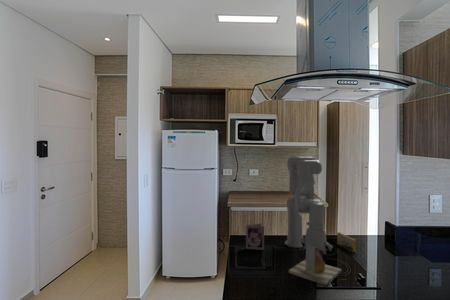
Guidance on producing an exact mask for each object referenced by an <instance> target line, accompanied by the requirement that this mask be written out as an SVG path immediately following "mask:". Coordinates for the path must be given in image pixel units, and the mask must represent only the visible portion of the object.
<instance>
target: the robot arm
mask: <svg viewBox="0 0 450 300" xmlns="http://www.w3.org/2000/svg"><path fill="white" fill-rule="evenodd" d="M286 165H287V169H288V172H289V194H290V196H294V197H289V198H288V199H287V200H286V209H287V231H286V232H287V235H286V240H285V241H284V245H286V246H287V247H289V248H290V247H291V248H296V249H297V248H303V249H304V258H306V245H310V246H314V247H317V248H318V250H322V251H323V253H324V254H323V262H325V263H326V261H328V253H330V252H331V251H332V249H333V245H332V244H330V243H329V242H327V233H326V229H325V205H324V202H322V201H321V200H320V199H315V184H316V181H315V177H314V175H320V174H321V173H322V170H323V168H322V164H321V162H320V161H319V159H318V158H316V157H314V156H290V157H289V158H288V159H287V163H286ZM300 214H308V221H307V222H306V225H307V226H308V227H306V230H305V231H306V232H305V236H304V235H303V217H302V215H300ZM327 248H328V249H327Z"/></svg>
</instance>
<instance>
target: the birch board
mask: <svg viewBox="0 0 450 300" xmlns="http://www.w3.org/2000/svg"><path fill="white" fill-rule="evenodd" d="M305 267H306V258H305V259H303V260H302V261H300V262H299V263H297V264H295V265H294V266H293V267H291V268H290V269H288V273H289V274H292V275H294V276H296V277H300V278H302V279H306V280H309V281H311V282H314V283H318V284H321V285H324V286H326V287H327V286H328V285H329V284H330V283H332V282H333V281H334V280H335V279H336V277H338V276H339V275H340V274H341V273H342V269H341V268H339V267H336V266H332V265H328V264H325V270H323V271H319V272H316V273H313V272H311V271H309V270H307V269H306V268H305Z"/></svg>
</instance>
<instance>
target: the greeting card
mask: <svg viewBox="0 0 450 300" xmlns="http://www.w3.org/2000/svg"><path fill="white" fill-rule="evenodd" d="M245 231H246V232H245V234H246V235H245V250H258V251H259V250H260V251H263V250H265V226H263V225H262V223H261V222H260V223H253V224H246V230H245Z"/></svg>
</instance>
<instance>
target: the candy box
mask: <svg viewBox="0 0 450 300" xmlns="http://www.w3.org/2000/svg"><path fill="white" fill-rule="evenodd" d="M336 235H337V239H336V240H337V241H336V244H337V245H338V244H339V245H338V246H340V245H341V246H340V247H342V246H343V247H344V249H345V248H346V250H347V249H348V251H349V250H350V251H349V252H351V251H352V252H351V253H353V252H356V253H357V240H356V239H355V238H352V237H351V236H348V235H346V234H344V233H342V232H339V231H338V232H336ZM343 247H342V248H343Z"/></svg>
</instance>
